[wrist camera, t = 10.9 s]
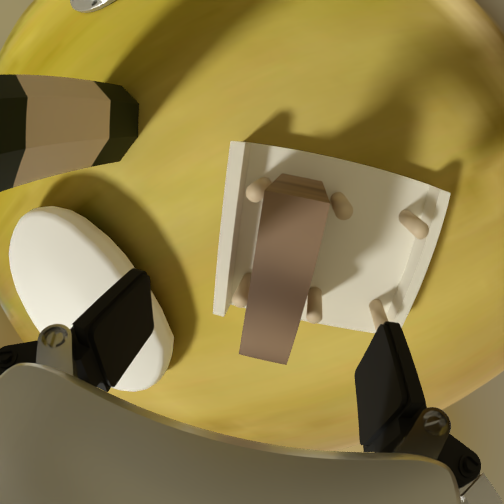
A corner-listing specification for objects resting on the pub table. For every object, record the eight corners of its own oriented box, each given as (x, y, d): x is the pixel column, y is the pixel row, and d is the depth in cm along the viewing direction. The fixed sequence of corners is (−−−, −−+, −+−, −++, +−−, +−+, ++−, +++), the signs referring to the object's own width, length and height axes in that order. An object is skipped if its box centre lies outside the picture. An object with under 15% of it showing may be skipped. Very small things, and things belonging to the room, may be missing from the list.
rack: (242, 141, 20) (223, 140, 16) (432, 185, 18) (460, 197, 14) (224, 293, 26) (207, 323, 22) (383, 325, 24) (393, 359, 19)
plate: (211, 365, 24) (113, 411, 35) (225, 321, 30) (128, 383, 41) (11, 166, 17) (-7, 295, 28) (53, 152, 23) (16, 276, 34)
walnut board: (281, 173, 19) (264, 190, 12) (322, 181, 19) (330, 203, 12) (261, 290, 23) (239, 354, 16) (295, 298, 23) (286, 364, 16)
